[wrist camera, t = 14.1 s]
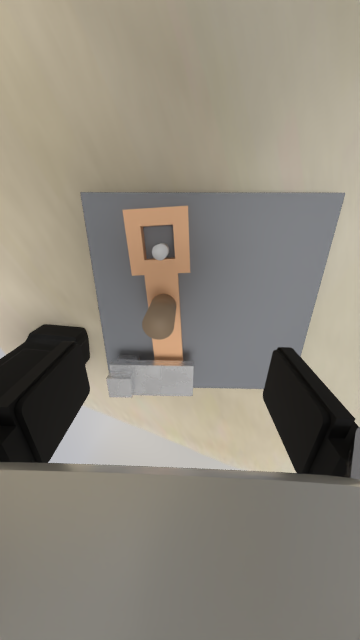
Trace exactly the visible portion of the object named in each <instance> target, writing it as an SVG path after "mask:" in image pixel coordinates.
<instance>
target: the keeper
mask: <svg viewBox="0 0 360 640" xmlns="http://www.w3.org/2000/svg"><path fill="white" fill-rule="evenodd" d="M193 369H194V364H193V361H168V360H140V359H139V355H119V356H118V358H117V360H112V361H111V363H110V373H109V375H108V376H107V378H106V379H107V385H108V391H109V397H132V396H133V395H160V396H193Z"/></svg>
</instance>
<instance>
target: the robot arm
mask: <svg viewBox="0 0 360 640" xmlns="http://www.w3.org/2000/svg"><path fill="white" fill-rule="evenodd" d="M89 391H90V386H89V381H88V377H87V372H86V368H85V363H84V358H83V354H82V349H81V346H80V345H79V344H77V342H75V341H62V342H61V343H60V344H59V345H58V346H56V347H55V348H54V349H53V350H52V351H51V352H50V353H49V354H48V355H47V356H45V357H44V358H43V359H42V360H41V361H40V362H39V363H38V364H37V365H36V366H34V367H33V368H32V369H31V370H30V371H29V372H28V373H27V374H26V375H25V376H23V377H22V378H21V379H20V380H19V381H18V382H17V383H16V384H15V385H14V386H12V387H11V388H10V389H9V390H8V391H7V392H6V393H5V394H4V395H3V396H1V397H0V640H360V427H358V426H357V424H356V423H355V422H354V421H355V418H354V417H353V416H352V415H351V414H350V413H349V411H348V410H347V409H346V408H345V407H344V406H343V405H342V404H341V402H340V401H339V400H338V399H337V398H336V397H335V396H334V394H333V393H332V392H331V391H330V390H329V389H328V388H327V387H326V385H325V384H324V383H323V382H322V381H321V380H320V379H319V378H318V376H317V375H316V374H315V373H314V372H313V371H312V370H311V368H310V367H309V366H308V365H307V364H306V363H305V362H304V361H303V359H302V358H301V357H300V356H299V355H298V354H297V353H296V352H295V350H294V349H293V348H291V347H278V348H277V350H274V351H273V353H272V357H271V362H270V366H269V370H268V374H267V378H266V382H265V387H264V391H263V399H264V402H265V404H266V406H267V409H268V411H269V413H270V415H271V417H272V420H273V422H274V424H275V426H276V429H277V431H278V433H279V435H280V437H281V440H282V442H283V444H284V446H285V449H286V451H287V453H288V455H289V457H290V460H291V462H292V464H293V466H294V469H295V471H296V472H297V473H283V472H263V471H241V470H218V469H197V468H171V467H170V468H169V467H148V466H122V465H93V464H63V463H48V462H49V460H50V459H51V457H52V456H53V454H54V452H55V450H56V449H57V447H58V445H59V443H60V442H61V440H62V439H63V437H64V435H65V433H66V432H67V430H68V428H69V427H70V425H71V423H72V422H73V420H74V418H75V417H76V415H77V413H78V411H79V410H80V408H81V406H82V405H83V403H84V401H85V400H86V398H87V396H88V394H89Z"/></svg>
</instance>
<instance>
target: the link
mask: <svg viewBox="0 0 360 640" xmlns="http://www.w3.org/2000/svg"><path fill="white" fill-rule="evenodd" d="M123 217H124V224H125V231H126V238H127V245H128V252H129V259H130V266H131V273H132V276H136V275H144V276H145V285H146V293H147V301H148V310H147V312H146V314H145V316H144V318H143V321H142V327H143V330H144V332H145V333H146V334H147V335H148V336H149V337H151V338H152V342H153V351H154V359H155V360H168V361H183V348H182V331H181V314H180V296H179V279H178V273H190V250H189V221H188V206H174V207H158V208H143V209H127V210H123ZM165 225H173V233H174V249H175V257H170V258H165V259H163V260H157V259H155V258H152V259H147V258H146V249H145V240H144V231H143V227H149V226H165Z"/></svg>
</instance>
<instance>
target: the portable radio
mask: <svg viewBox="0 0 360 640" xmlns="http://www.w3.org/2000/svg"><path fill="white" fill-rule="evenodd" d="M62 341H75V342H77V344H79V345H80V346H81V349H82V354H83V358H84V363H85V364H86V362H87V361H88V360H89V358H90V355H89V343H88V337H87V333H86V331H85V330H84V328H78V327H68V326H57V325H42V326H41V327H39V328H37V329H36V330H34V331H33V332H31V333H30V334H29V336H28V338H27V340H26V341H25V342H24V343H23V344H22V345H20V346H19V347H17V348H16V349H14V350H13V351H11V352H10V353H8V354H7V355H6V356H4V357H3V358H1V359H0V397H1V396H3V395H4V394H5V393H6V392H7V391H8V390H9V389H10V388H11V387H12V386H14V385H15V384H16V383H17V382H18V381H19V380H20V379H21V378H22V377H23V376H25V375H26V374H27V373H28V372H29V371H30V370H31V369H32V368H33V367H34V366H36V365H37V364H38V363H39V362H40V361H41V360H42V359H43V358H44V357H45V356H47V355H48V354H49V353H50V352H51V351H52V350H53V349H54V348H55V347H56V346H58V345H59V344H60V343H61V342H62Z"/></svg>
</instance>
